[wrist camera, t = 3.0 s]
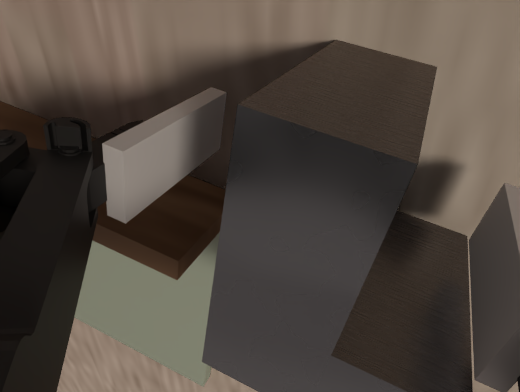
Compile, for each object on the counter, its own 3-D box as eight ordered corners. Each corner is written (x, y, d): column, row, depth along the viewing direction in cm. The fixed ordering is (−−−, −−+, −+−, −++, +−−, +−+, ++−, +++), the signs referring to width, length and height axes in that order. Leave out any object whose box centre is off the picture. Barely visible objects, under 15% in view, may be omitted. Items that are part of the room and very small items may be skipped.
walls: (-27, 90, 27) (-132, 119, 22) (239, 195, 22) (178, 261, 17) (21, 276, 37) (-44, 323, 32) (209, 376, 32) (166, 448, 27)
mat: (-27, 90, 27) (-42, 94, 26) (239, 195, 22) (231, 204, 21) (21, 276, 37) (11, 283, 36) (209, 376, 32) (203, 386, 31)
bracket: (336, 39, 16) (237, 104, 9) (552, 97, 14) (649, 241, 7) (286, 229, 22) (201, 361, 14) (434, 289, 20) (421, 476, 12)
